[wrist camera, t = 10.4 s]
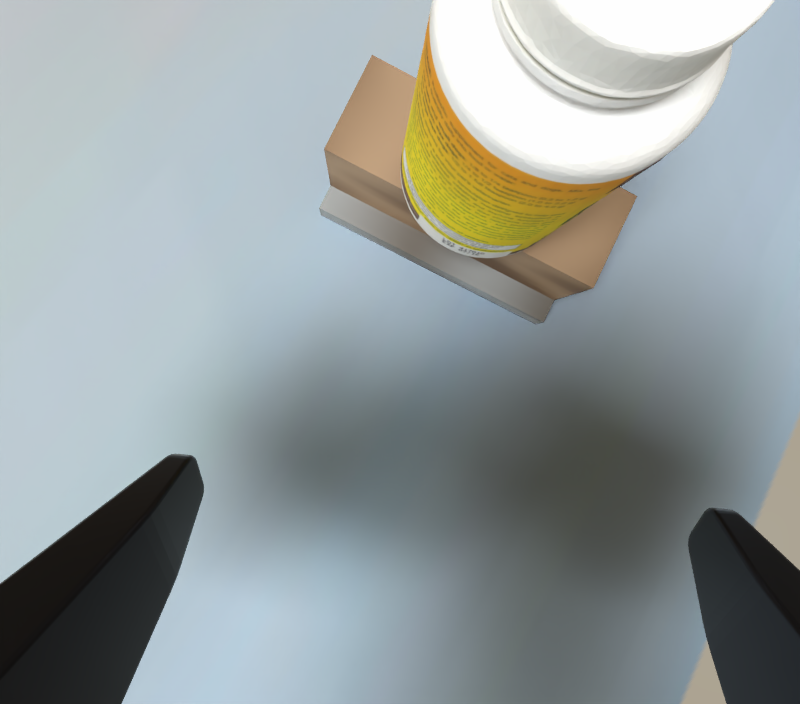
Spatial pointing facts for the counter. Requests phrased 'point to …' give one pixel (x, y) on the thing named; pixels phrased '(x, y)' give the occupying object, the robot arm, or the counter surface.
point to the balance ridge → (399, 232)
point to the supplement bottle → (553, 108)
